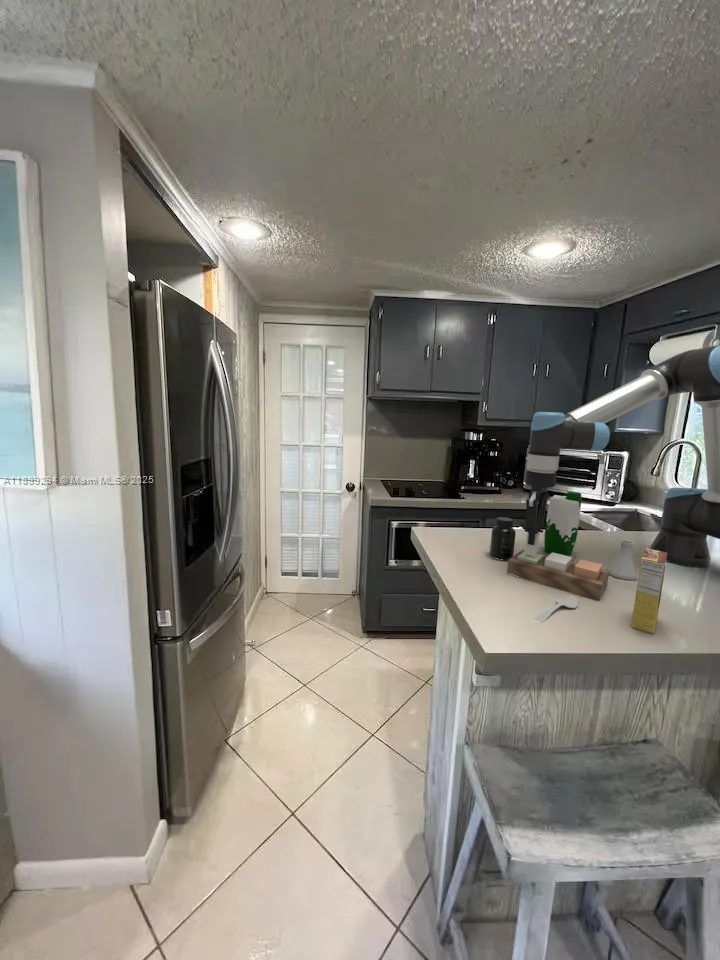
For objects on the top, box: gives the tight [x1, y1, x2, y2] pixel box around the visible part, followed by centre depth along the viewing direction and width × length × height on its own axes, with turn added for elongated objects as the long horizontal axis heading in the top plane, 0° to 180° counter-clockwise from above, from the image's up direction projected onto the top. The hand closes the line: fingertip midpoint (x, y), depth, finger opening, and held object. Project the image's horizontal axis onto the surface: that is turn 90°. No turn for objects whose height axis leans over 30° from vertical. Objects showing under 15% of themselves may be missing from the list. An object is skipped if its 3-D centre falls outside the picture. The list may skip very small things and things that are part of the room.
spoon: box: [534, 595, 579, 623], centre depth 87 cm, size 4×21×2 cm, turn 127°
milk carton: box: [543, 491, 582, 557], centre depth 125 cm, size 9×9×20 cm
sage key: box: [517, 551, 545, 564], centre depth 109 cm, size 5×7×4 cm
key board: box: [506, 549, 610, 601], centre depth 105 cm, size 22×12×4 cm, turn 50°
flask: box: [606, 539, 638, 581], centre depth 109 cm, size 7×7×10 cm
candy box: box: [630, 548, 667, 635], centre depth 83 cm, size 9×4×15 cm, turn 140°
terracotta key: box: [574, 559, 603, 581], centre depth 100 cm, size 5×7×4 cm
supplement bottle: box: [489, 516, 517, 561], centre depth 119 cm, size 7×7×12 cm
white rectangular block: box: [544, 552, 573, 572], centre depth 104 cm, size 5×7×4 cm
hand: (530, 554), depth 109 cm, fingers closed
